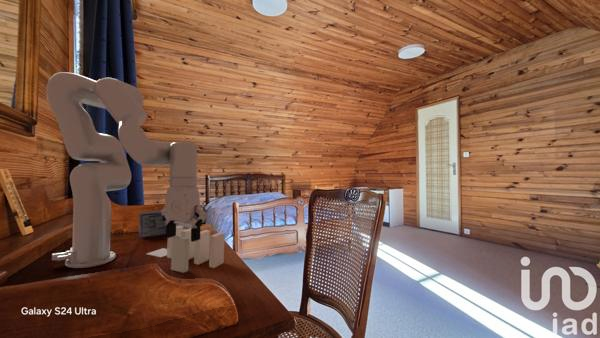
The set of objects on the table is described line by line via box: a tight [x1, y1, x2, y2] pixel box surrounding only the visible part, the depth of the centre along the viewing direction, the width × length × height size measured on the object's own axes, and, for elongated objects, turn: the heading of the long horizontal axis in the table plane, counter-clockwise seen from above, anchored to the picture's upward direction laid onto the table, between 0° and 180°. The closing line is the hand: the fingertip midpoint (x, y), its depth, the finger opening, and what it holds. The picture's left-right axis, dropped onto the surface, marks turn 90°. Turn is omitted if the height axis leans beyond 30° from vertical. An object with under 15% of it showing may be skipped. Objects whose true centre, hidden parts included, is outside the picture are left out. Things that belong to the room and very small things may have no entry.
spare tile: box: [170, 236, 190, 274], centre depth 79 cm, size 2×5×10 cm, turn 69°
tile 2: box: [193, 229, 211, 265], centre depth 87 cm, size 2×5×10 cm, turn 159°
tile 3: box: [181, 228, 195, 260], centre depth 89 cm, size 2×5×10 cm, turn 159°
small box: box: [138, 210, 166, 239], centre depth 114 cm, size 11×6×10 cm, turn 130°
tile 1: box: [208, 232, 226, 269], centre depth 84 cm, size 2×5×10 cm, turn 159°
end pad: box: [146, 247, 167, 259], centre depth 93 cm, size 7×7×1 cm
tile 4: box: [166, 226, 183, 259], centre depth 91 cm, size 2×5×10 cm, turn 159°
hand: (183, 238), depth 79 cm, fingers open, 9 cm apart
